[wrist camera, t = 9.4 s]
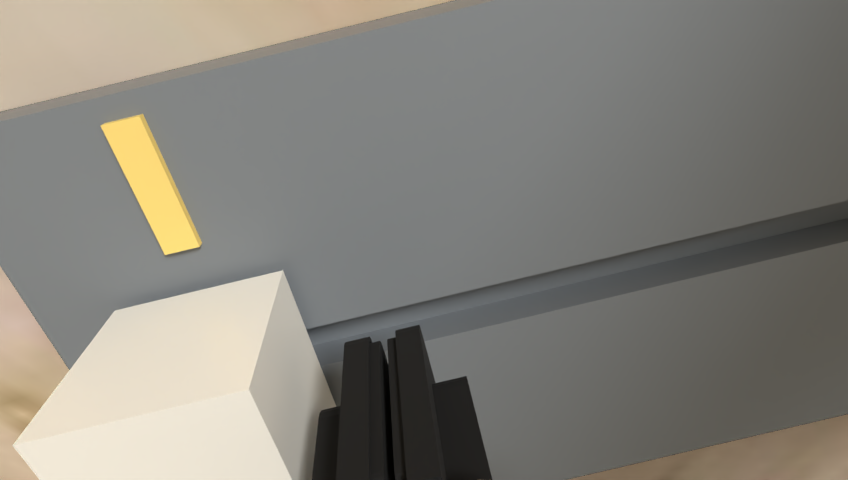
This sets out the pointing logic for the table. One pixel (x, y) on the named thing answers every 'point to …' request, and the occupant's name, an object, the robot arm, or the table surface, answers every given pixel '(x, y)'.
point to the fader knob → (188, 393)
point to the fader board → (487, 210)
